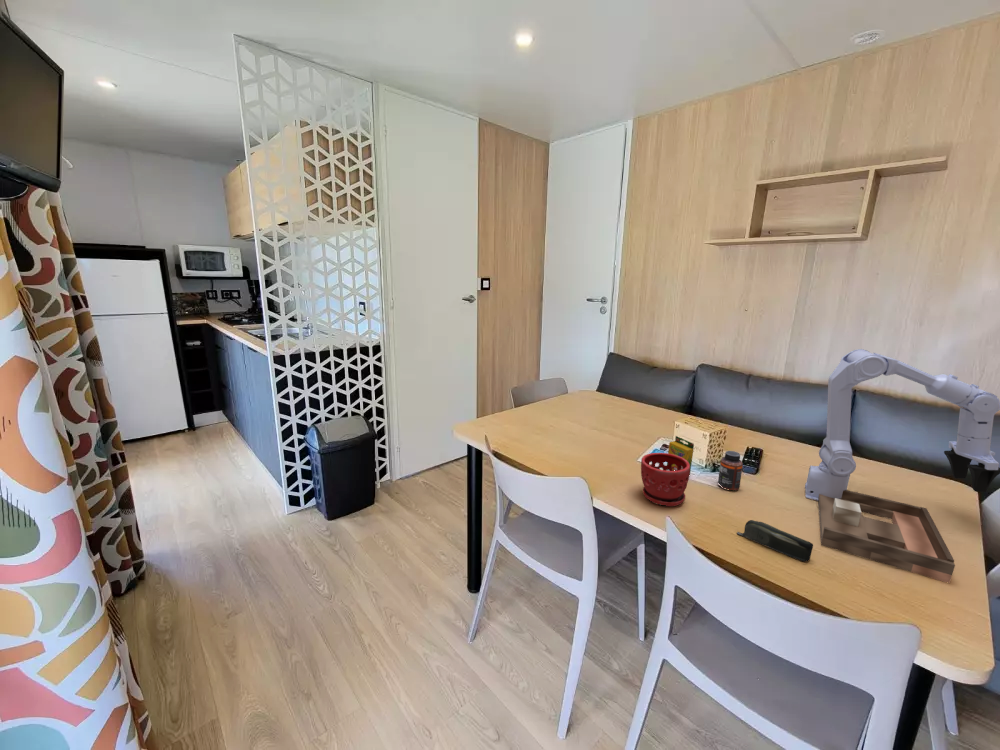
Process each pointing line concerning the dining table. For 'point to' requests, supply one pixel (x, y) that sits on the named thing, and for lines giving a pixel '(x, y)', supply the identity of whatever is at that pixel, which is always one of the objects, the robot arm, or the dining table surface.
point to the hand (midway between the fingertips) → (969, 484)
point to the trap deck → (888, 535)
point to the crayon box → (681, 451)
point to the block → (846, 512)
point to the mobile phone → (778, 540)
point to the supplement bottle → (730, 471)
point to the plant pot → (664, 478)
